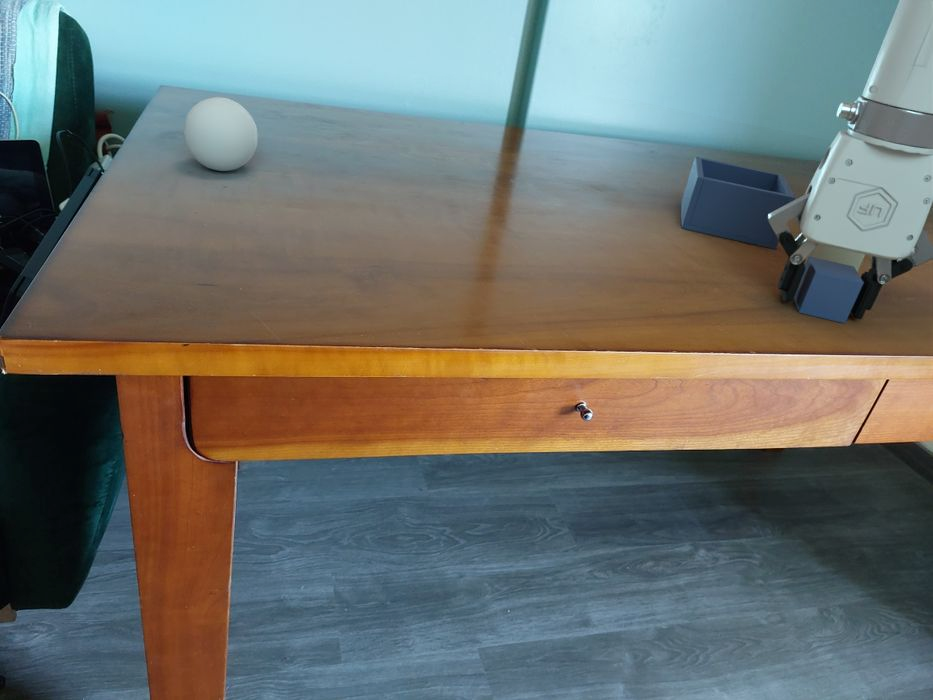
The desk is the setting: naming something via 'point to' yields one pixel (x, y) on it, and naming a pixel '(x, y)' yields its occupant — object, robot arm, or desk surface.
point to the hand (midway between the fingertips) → (820, 303)
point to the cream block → (837, 256)
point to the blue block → (828, 289)
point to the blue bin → (733, 201)
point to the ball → (220, 134)
